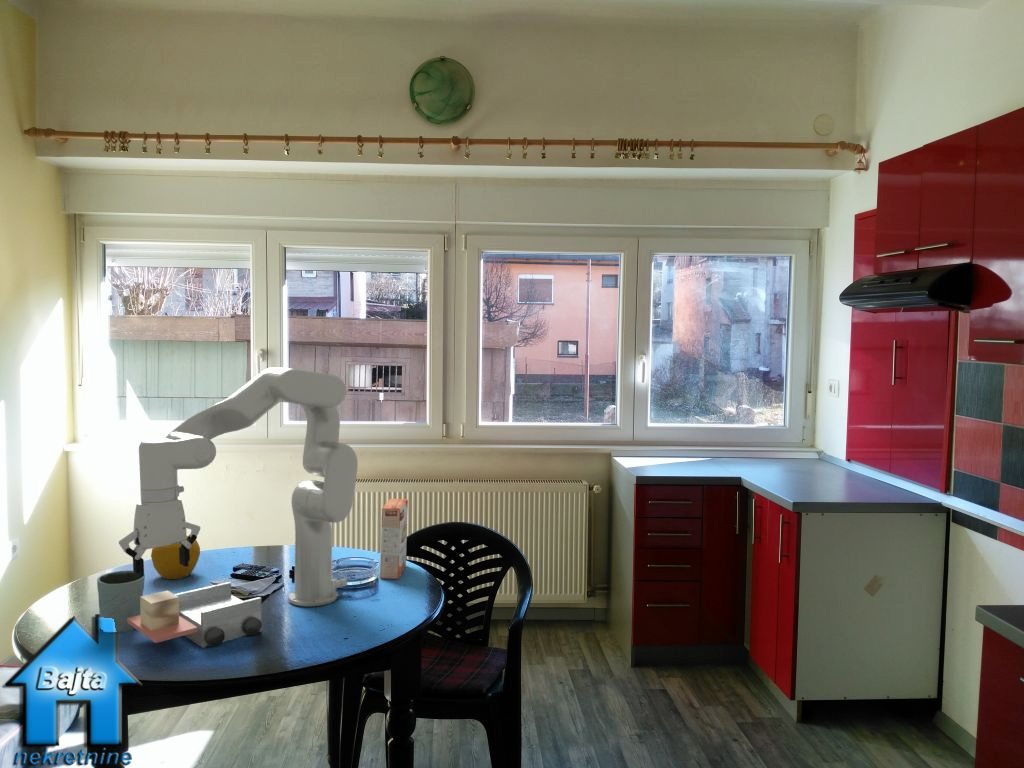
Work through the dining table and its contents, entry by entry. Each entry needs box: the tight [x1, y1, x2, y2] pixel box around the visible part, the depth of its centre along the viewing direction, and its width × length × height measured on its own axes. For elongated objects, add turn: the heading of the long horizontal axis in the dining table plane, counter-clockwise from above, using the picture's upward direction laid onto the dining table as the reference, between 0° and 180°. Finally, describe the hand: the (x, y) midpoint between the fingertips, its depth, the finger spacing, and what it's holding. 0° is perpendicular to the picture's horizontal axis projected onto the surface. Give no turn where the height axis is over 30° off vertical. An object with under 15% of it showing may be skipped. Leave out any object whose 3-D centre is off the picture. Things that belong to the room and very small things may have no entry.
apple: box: [150, 535, 201, 580], centre depth 217 cm, size 13×13×11 cm
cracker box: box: [379, 498, 409, 580], centre depth 225 cm, size 14×6×21 cm, turn 179°
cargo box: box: [140, 590, 179, 630], centre depth 169 cm, size 6×6×6 cm
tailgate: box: [127, 615, 197, 644], centre depth 170 cm, size 1×16×9 cm
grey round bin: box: [96, 570, 146, 633], centre depth 179 cm, size 10×10×12 cm
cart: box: [174, 581, 263, 648], centre depth 179 cm, size 14×18×8 cm
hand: (162, 570), depth 169 cm, fingers open, 9 cm apart
